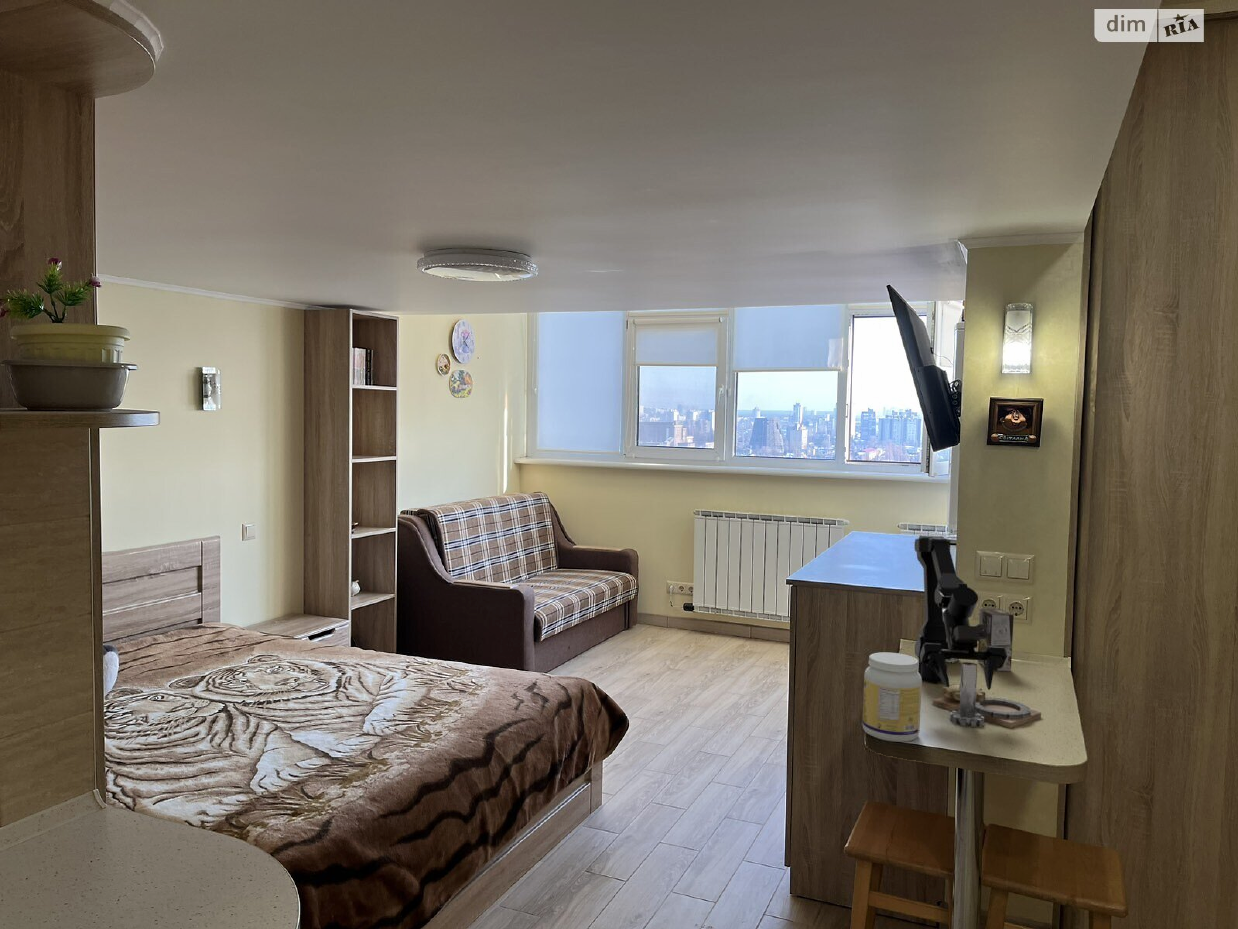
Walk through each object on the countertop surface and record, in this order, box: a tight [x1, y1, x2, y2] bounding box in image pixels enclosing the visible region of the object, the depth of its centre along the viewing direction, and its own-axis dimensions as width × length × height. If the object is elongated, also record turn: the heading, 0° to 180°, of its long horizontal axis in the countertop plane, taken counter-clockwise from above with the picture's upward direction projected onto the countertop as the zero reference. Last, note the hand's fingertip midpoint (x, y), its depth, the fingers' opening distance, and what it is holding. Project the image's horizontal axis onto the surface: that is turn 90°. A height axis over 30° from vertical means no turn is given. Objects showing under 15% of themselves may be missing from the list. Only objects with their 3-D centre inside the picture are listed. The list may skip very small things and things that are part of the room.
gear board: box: [932, 683, 1042, 729], centre depth 212 cm, size 21×14×5 cm, turn 37°
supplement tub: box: [861, 651, 923, 743], centre depth 193 cm, size 12×12×17 cm
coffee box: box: [977, 608, 1015, 672], centre depth 252 cm, size 9×6×16 cm
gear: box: [949, 661, 985, 728], centre depth 203 cm, size 7×7×14 cm
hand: (968, 687), depth 202 cm, fingers open, 9 cm apart
